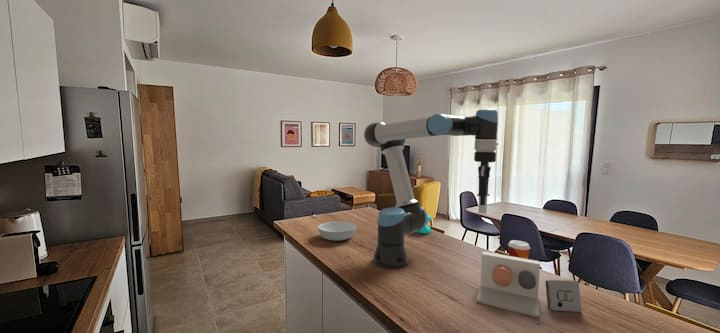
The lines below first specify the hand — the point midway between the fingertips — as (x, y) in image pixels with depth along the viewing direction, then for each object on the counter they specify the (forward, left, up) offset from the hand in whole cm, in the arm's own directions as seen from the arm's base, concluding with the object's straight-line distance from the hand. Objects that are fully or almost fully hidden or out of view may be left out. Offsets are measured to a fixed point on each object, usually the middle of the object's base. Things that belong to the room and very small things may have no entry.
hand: (482, 212), depth 114 cm
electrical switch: (+23, -14, -27) cm, 38 cm away
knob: (+7, -8, -22) cm, 24 cm away
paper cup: (+15, +6, -27) cm, 31 cm away
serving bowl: (-69, +32, -27) cm, 81 cm away
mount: (+7, -13, -26) cm, 30 cm away
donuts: (-24, +57, -27) cm, 67 cm away
